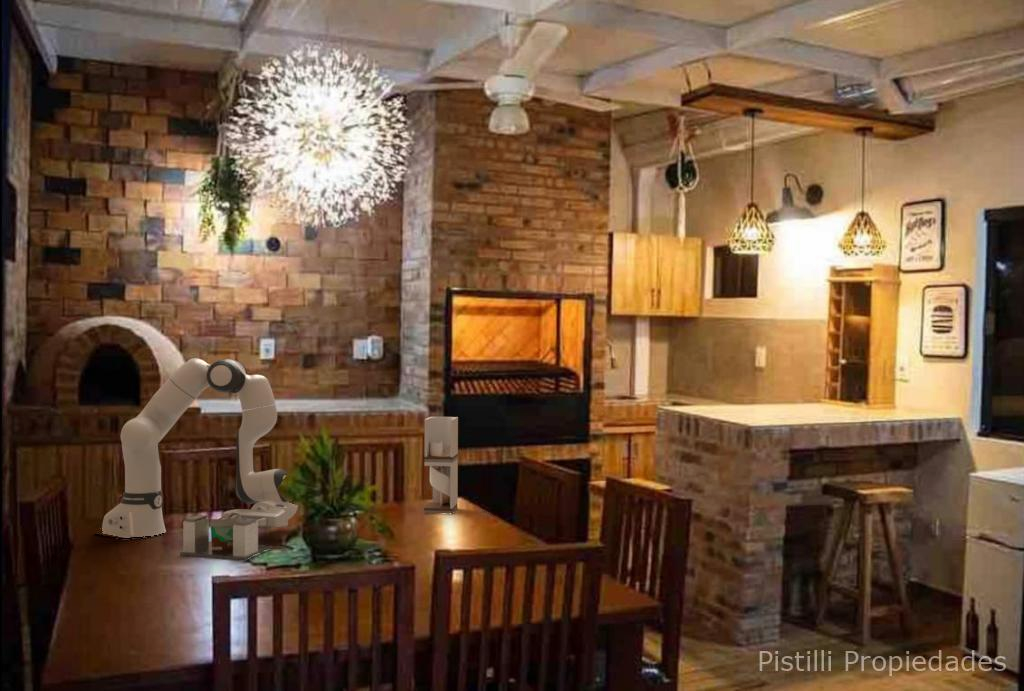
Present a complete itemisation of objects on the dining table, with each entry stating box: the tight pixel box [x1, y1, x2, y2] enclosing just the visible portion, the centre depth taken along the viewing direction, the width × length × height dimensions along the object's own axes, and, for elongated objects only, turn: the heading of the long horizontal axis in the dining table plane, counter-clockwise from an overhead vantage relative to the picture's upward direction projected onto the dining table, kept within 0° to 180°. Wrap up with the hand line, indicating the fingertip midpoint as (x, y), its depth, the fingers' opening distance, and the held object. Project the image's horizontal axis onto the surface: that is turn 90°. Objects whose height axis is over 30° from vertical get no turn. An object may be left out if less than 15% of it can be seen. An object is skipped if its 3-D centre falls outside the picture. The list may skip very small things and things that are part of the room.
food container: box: [209, 512, 242, 552], centre depth 277 cm, size 12×6×10 cm, turn 165°
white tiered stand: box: [423, 416, 459, 515], centre depth 344 cm, size 11×11×35 cm
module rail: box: [179, 514, 273, 561], centre depth 277 cm, size 22×15×11 cm
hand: (240, 522), depth 284 cm, fingers open, 8 cm apart
